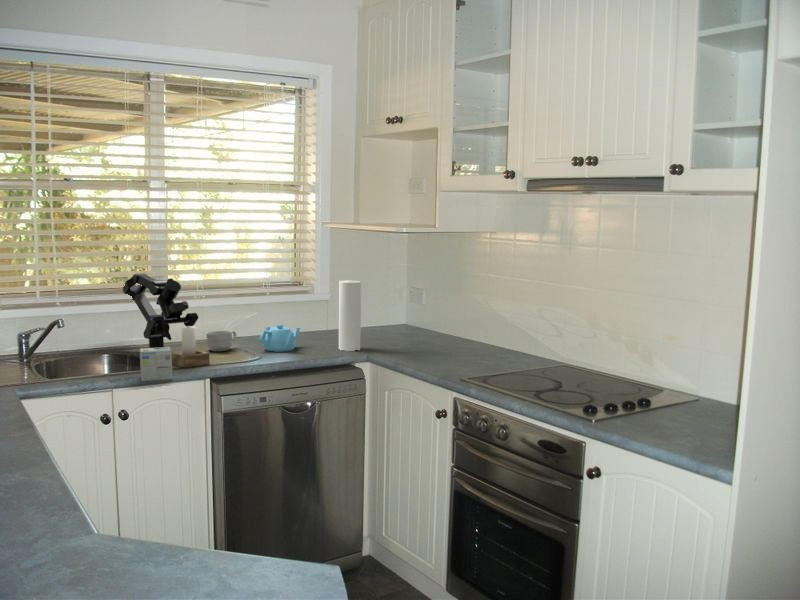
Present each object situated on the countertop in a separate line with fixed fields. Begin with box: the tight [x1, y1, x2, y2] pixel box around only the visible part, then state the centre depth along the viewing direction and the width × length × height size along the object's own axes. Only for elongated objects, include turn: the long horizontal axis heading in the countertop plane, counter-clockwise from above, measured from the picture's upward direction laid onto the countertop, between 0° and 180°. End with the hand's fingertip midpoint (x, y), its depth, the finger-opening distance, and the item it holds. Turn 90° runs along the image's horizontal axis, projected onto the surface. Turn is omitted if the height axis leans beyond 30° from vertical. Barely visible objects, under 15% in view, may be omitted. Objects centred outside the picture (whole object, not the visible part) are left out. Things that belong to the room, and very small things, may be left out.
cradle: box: [171, 349, 210, 368], centre depth 297 cm, size 12×10×4 cm
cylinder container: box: [338, 279, 362, 352], centre depth 330 cm, size 9×9×30 cm
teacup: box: [205, 330, 237, 352], centre depth 325 cm, size 14×11×8 cm
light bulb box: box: [139, 346, 173, 382], centre depth 271 cm, size 11×7×11 cm, turn 111°
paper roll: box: [181, 325, 197, 356], centre depth 297 cm, size 5×5×13 cm
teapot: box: [258, 324, 301, 353], centre depth 328 cm, size 15×15×11 cm
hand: (181, 338), depth 301 cm, fingers open, 9 cm apart
